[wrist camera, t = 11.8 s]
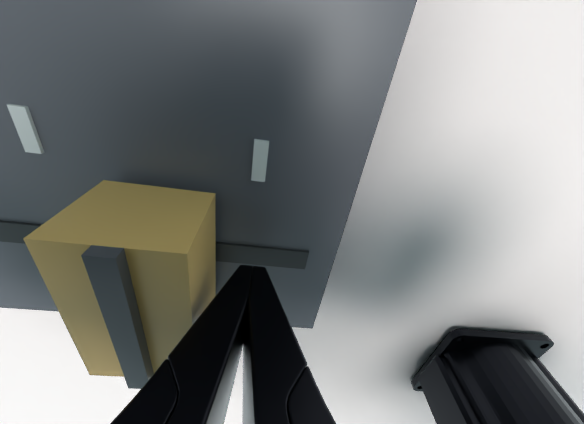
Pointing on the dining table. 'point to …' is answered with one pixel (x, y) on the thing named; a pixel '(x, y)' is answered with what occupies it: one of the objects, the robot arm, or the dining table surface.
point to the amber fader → (129, 272)
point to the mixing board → (196, 122)
